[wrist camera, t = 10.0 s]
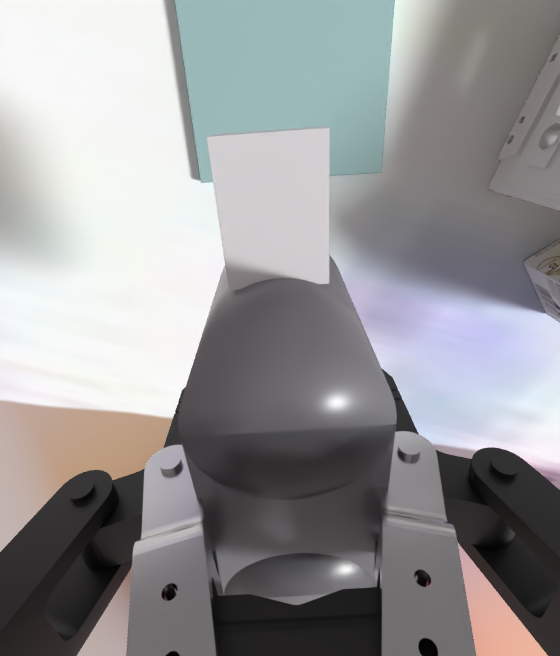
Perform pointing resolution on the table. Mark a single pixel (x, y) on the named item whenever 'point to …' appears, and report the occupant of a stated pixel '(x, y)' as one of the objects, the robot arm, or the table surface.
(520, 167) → the cassette
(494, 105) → the table surface
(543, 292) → the coffee box
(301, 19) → the teal rubber mat
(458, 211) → the table surface
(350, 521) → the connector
